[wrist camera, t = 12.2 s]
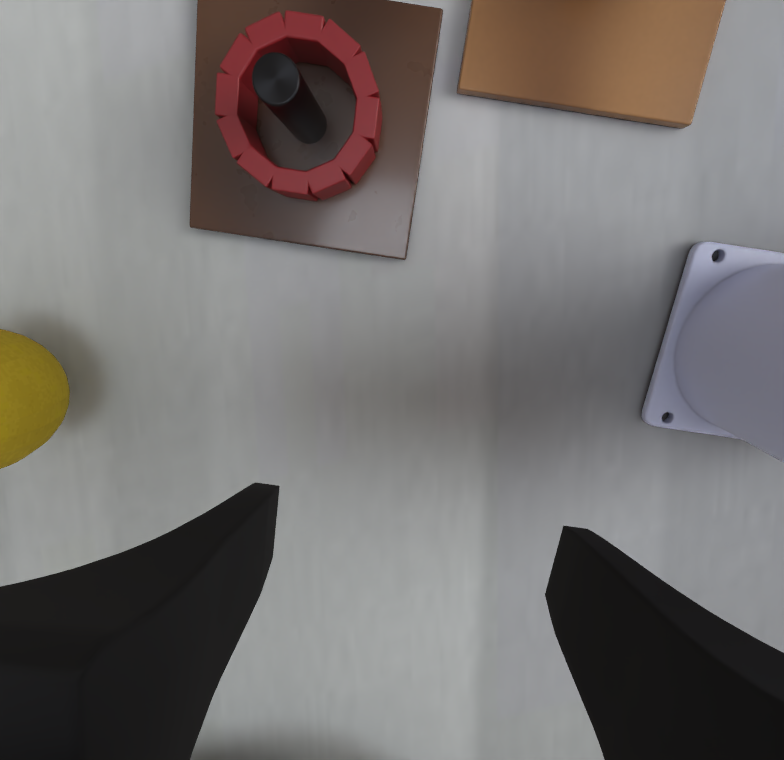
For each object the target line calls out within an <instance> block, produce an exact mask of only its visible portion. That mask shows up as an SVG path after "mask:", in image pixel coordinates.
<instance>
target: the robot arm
mask: <svg viewBox="0 0 784 760" xmlns="http://www.w3.org/2000/svg"><path fill="white" fill-rule="evenodd" d="M716 250H717V251H718V253H719V257H718V259H717V260H716V261H715V262H714V261H713V260H712V254H713V252H714V251H716ZM666 412H669V416H668V418H667V419H665V420H662V415H663V414H664V413H666ZM641 416H642V419H643V420H644V421H645V422H646V423H647V424H649V425H651V426H655V427H662V428H669V429H676V430H682V431H689V432H696V433H703V434H709V435H716V436H723V437H730V438H736V439H742V440H744V441H746V442H747V443H749V444H751V445H753V446H755V447H757V448H758V449H760V450H762V451H764V452H766V453H767V454H769V455H771V456H773V457H775V458H777V459H778V460H780V461H782V462H784V253H781V252H775V251H768V250H762V249H755V248H749V247H742V246H736V245H729V244H723V243H716V242H710V241H708V242H699V243H696V244H695V245H694V246H693V247H692V248H691V250H690V252H689V254H688V258H687V261H686V265H685V268H684V271H683V275H682V278H681V281H680V285H679V288H678V291H677V295H676V298H675V302H674V305H673V308H672V312H671V315H670V318H669V322H668V325H667V328H666V332H665V335H664V339H663V342H662V345H661V349H660V352H659V355H658V359H657V362H656V365H655V369H654V372H653V375H652V379H651V382H650V386H649V389H648V392H647V396H646V399H645V402H644V406H643V409H642V414H641ZM278 496H279V486H276V485H269V484H262V483H253V484H252V485H250V486H248V487H247V488H245V489H243V490H242V491H240V492H239V493H237V494H235V495H234V496H232V497H231V498H229V499H227V500H226V501H224V502H222V503H221V504H219V505H217V506H216V507H214V508H212V509H211V510H209V511H207V512H206V513H204V514H202V515H200V516H199V517H197V518H195V519H193V520H191V521H189V522H187V523H185V524H184V525H182V526H180V527H178V528H176V529H174V530H172V531H170V532H168V533H166V534H164V535H162V536H160V537H158V538H156V539H153V540H151V541H149V542H146V543H144V544H142V545H139V546H137V547H134V548H132V549H130V550H127V551H124V552H122V553H119V554H116V555H113V556H110V557H107V558H104V559H101V560H98V561H95V562H92V563H89V564H86V565H83V566H80V567H77V568H74V569H71V570H67V571H63V572H60V573H56V574H52V575H49V576H45V577H41V578H37V579H33V580H28V581H24V582H20V583H16V584H11V585H6V586H2V587H0V760H190V757H191V754H192V751H193V749H194V746H195V743H196V740H197V738H198V735H199V732H200V729H201V727H202V724H203V721H204V719H205V716H206V713H207V710H208V708H209V705H210V702H211V700H212V697H213V695H214V692H215V690H216V688H217V685H218V683H219V681H220V678H221V676H222V674H223V672H224V670H225V668H226V666H227V664H228V662H229V660H230V657H231V655H232V653H233V651H234V649H235V647H236V645H237V643H238V641H239V639H240V637H241V634H242V632H243V630H244V628H245V626H246V624H247V622H248V620H249V618H250V616H251V613H252V611H253V609H254V607H255V605H256V603H257V601H258V598H259V596H260V594H261V591H262V588H263V585H264V582H265V580H266V577H267V573H268V570H269V567H270V564H271V561H272V558H273V549H274V538H275V528H276V517H277V507H278ZM545 596H546V600H547V604H548V609H549V613H550V617H551V620H552V624H553V628H554V631H555V634H556V637H557V640H558V642H559V645H560V647H561V650H562V652H563V655H564V657H565V660H566V662H567V665H568V667H569V670H570V672H571V674H572V677H573V679H574V682H575V684H576V686H577V689H578V691H579V694H580V696H581V699H582V701H583V703H584V706H585V708H586V711H587V713H588V715H589V718H590V720H591V723H592V725H593V728H594V730H595V733H596V736H597V739H598V741H599V744H600V747H601V750H602V753H603V756H604V759H605V760H784V653H783V652H781V651H779V650H777V649H775V648H773V647H771V646H769V645H767V644H765V643H763V642H761V641H760V640H758V639H756V638H754V637H752V636H751V635H749V634H747V633H745V632H744V631H742V630H740V629H738V628H737V627H735V626H733V625H731V624H730V623H728V622H726V621H724V620H723V619H721V618H719V617H718V616H716V615H714V614H713V613H711V612H709V611H708V610H706V609H705V608H703V607H701V606H700V605H698V604H697V603H695V602H694V601H692V600H691V599H689V598H688V597H686V596H685V595H683V594H682V593H680V592H679V591H677V590H676V589H674V588H673V587H671V586H670V585H668V584H667V583H665V582H664V581H662V580H661V579H660V578H658V577H657V576H655V575H654V574H652V573H651V572H650V571H648V570H647V569H645V568H644V567H643V566H641V565H640V564H638V563H637V562H636V561H634V560H633V559H632V558H630V557H629V556H627V555H626V554H625V553H623V552H622V551H620V550H619V549H618V548H616V547H615V546H613V545H612V544H610V543H609V542H608V541H606V540H605V539H603V538H602V537H600V536H599V535H597V534H595V533H594V532H592V531H590V530H588V529H584V528H577V527H569V526H563V530H562V533H561V537H560V541H559V545H558V548H557V552H556V556H555V559H554V563H553V567H552V571H551V574H550V578H549V582H548V586H547V589H546V593H545Z"/></svg>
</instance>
